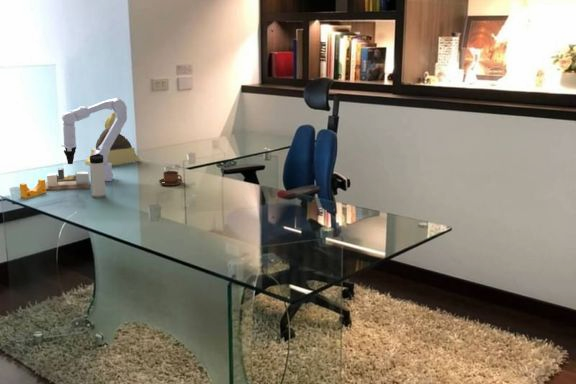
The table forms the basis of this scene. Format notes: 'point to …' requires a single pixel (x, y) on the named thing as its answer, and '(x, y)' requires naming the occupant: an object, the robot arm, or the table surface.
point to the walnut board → (66, 186)
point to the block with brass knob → (64, 178)
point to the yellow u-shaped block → (34, 192)
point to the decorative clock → (116, 146)
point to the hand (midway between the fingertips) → (70, 162)
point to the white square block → (52, 179)
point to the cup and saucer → (171, 178)
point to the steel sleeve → (82, 178)
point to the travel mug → (97, 176)
